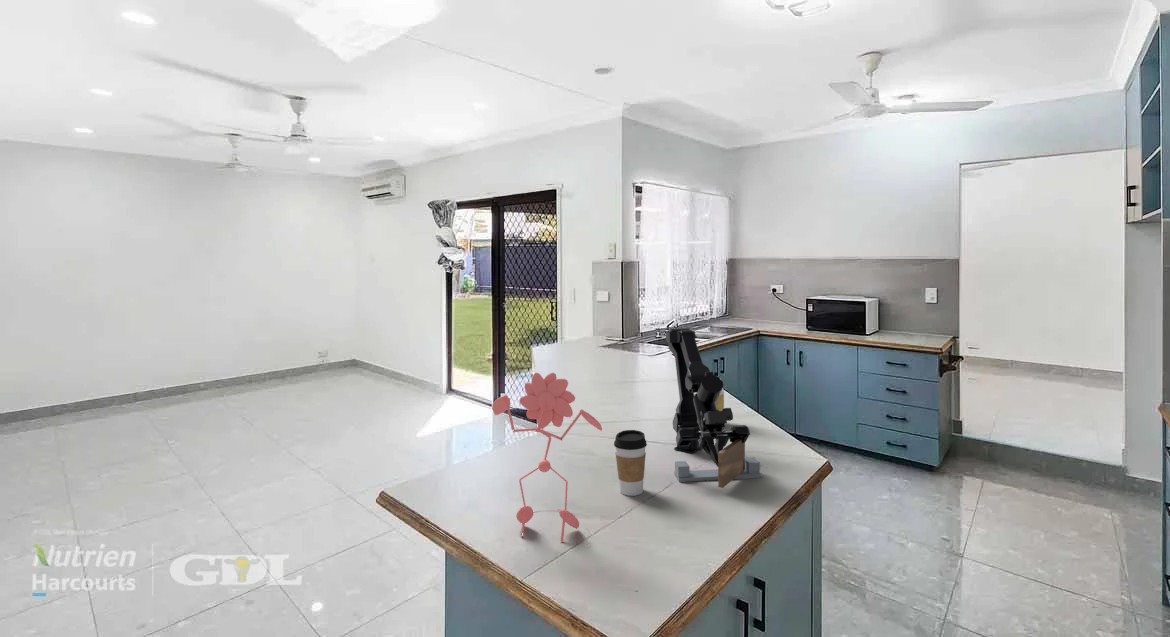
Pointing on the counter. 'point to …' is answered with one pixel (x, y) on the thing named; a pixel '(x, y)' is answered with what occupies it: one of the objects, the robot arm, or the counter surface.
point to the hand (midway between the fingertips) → (719, 466)
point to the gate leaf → (731, 462)
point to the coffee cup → (630, 461)
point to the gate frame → (715, 472)
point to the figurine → (545, 405)
